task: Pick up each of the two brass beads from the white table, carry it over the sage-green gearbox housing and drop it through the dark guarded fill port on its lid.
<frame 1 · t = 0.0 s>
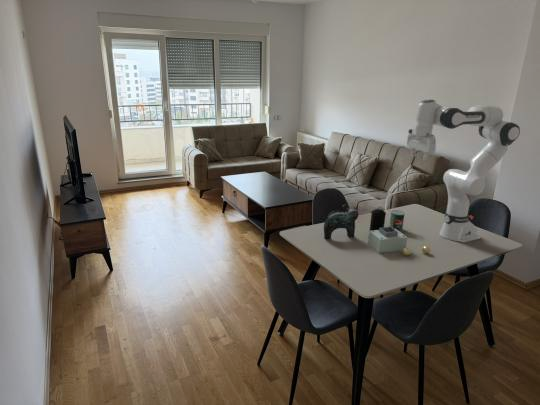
hand: (418, 158, 200), 48 cm above the table, fingers open, 8 cm apart
canned tomato: (395, 229, 231), on the table
dark green animal figurine: (339, 238, 217), on the table
aerosol can: (375, 238, 217), on the table
gearbox: (386, 247, 206), on the table
bead b: (425, 253, 200), on the table
bead a: (405, 255, 197), on the table
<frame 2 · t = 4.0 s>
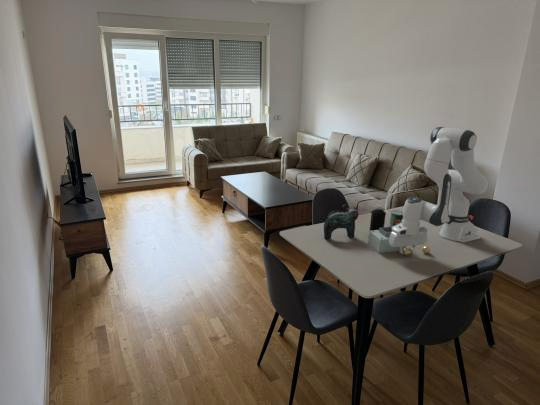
hand: (406, 252, 197), 2 cm above the table, fingers closed on bead a, 4 cm apart
bead a: (405, 255, 197), on the table, touching gripper
everything else where it was.
when the fingers open (13 cm above the table, at t = 7.5 s): bead a drops 11 cm, resting on gearbox.
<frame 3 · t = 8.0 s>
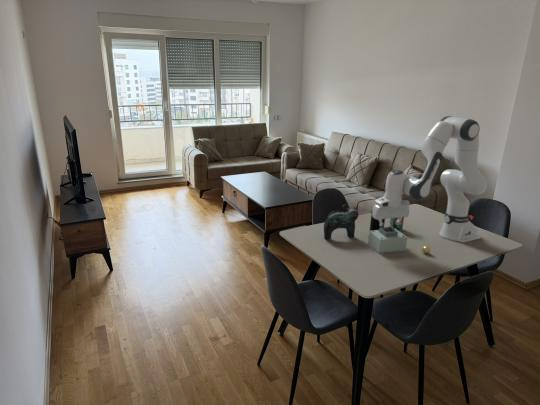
hand: (389, 225, 202), 13 cm above the table, fingers open, 8 cm apart
bead a: (386, 246, 206), point 1 cm above the table, tilted 6°, touching gearbox
everything else where it was.
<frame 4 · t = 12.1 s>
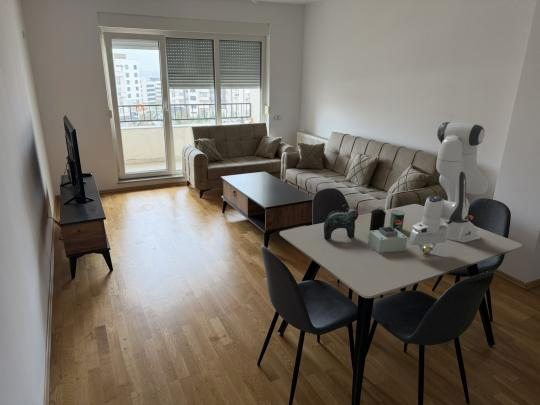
hand: (426, 250, 200), 2 cm above the table, fingers closed on bead b, 4 cm apart
bead b: (425, 253, 200), on the table, touching gripper
bead a: (386, 245, 206), point 1 cm above the table, tilted 45°, touching gearbox
everything else where it was.
when the fingers open (13 cm above the table, at t = 15.8 s): bead b drops 7 cm and tips over, resting on gearbox.
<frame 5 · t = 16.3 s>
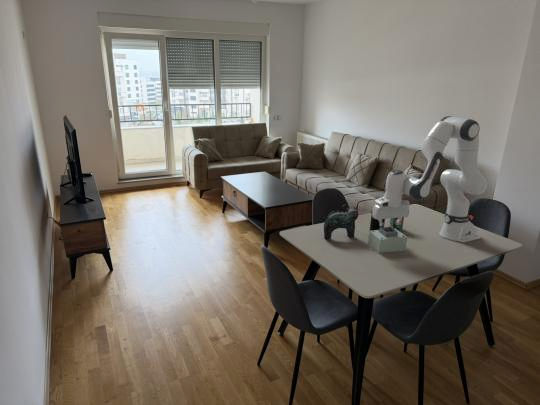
hand: (389, 225, 202), 13 cm above the table, fingers open, 8 cm apart
bead b: (397, 239, 206), point 4 cm above the table, tilted 162°, touching gearbox
bead a: (380, 240, 204), point 4 cm above the table, tilted 144°, touching gearbox
everything else where it was.
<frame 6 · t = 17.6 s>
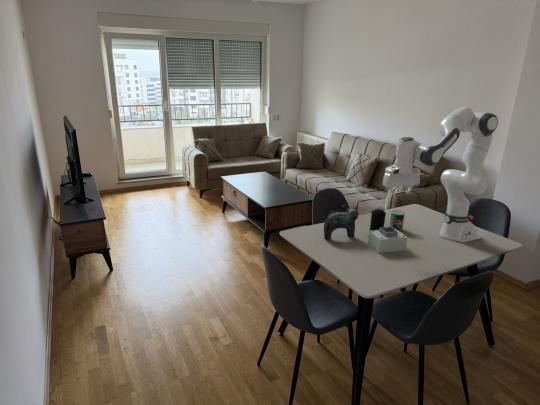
hand: (400, 193, 201), 29 cm above the table, fingers open, 8 cm apart
bead a: (382, 241, 206), point 3 cm above the table, tilted 115°, touching gearbox
everything else where it was.
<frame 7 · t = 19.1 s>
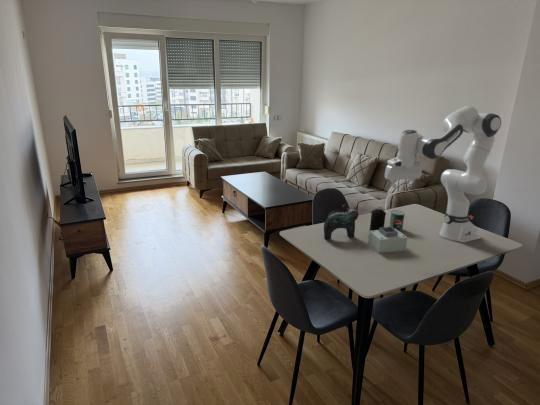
hand: (401, 186, 201), 33 cm above the table, fingers open, 8 cm apart
bead a: (383, 242, 207), point 2 cm above the table, tilted 80°, touching gearbox
everything else where it was.
at the end: bead a inside the target area on the gearbox (1.9 cm from its centre), point 2.2 cm above the gearbox's base; bead b inside the target area on the gearbox (5.1 cm from its centre), point 4.6 cm above the gearbox's base; the gripper is holding nothing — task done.
